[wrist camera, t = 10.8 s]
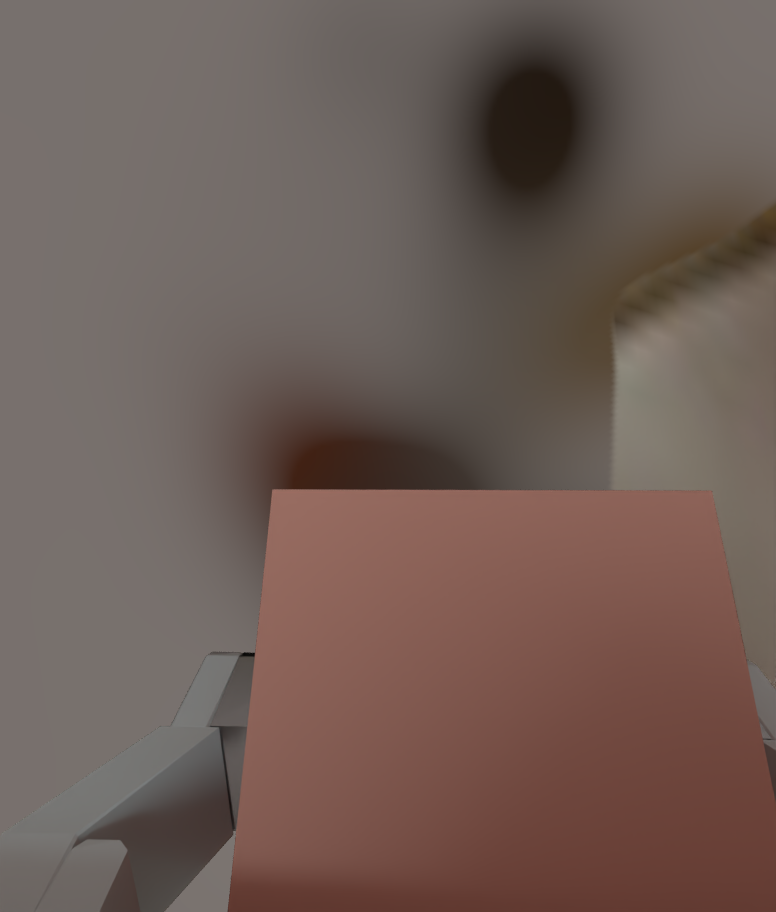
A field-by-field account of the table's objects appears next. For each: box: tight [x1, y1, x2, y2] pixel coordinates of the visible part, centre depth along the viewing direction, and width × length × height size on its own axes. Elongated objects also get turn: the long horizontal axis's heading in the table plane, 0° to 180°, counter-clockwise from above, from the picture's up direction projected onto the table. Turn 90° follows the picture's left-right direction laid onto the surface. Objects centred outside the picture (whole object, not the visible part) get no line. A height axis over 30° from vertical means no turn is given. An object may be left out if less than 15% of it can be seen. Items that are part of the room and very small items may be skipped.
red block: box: [228, 490, 776, 912], centre depth 10 cm, size 5×5×8 cm
